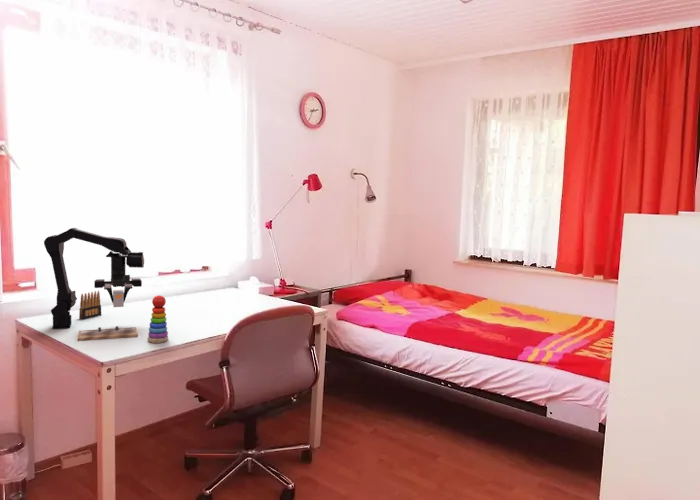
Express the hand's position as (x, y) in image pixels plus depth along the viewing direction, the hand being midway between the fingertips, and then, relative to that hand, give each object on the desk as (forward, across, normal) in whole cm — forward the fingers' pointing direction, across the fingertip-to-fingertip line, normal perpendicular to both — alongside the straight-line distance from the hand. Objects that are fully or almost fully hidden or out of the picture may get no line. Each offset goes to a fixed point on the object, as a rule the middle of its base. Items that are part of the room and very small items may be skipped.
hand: (118, 302), depth 226 cm
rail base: (+11, -4, -13) cm, 17 cm away
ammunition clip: (+11, -11, +20) cm, 26 cm away
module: (+1, 0, 0) cm, 1 cm away
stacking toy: (+11, +14, -27) cm, 32 cm away
